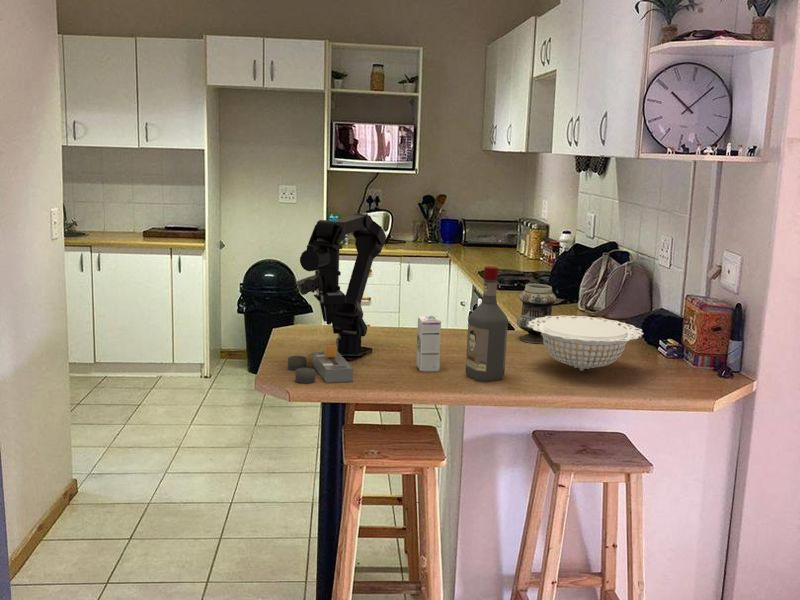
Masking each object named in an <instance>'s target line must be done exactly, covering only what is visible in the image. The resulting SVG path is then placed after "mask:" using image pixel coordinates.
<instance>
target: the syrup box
mask: <svg viewBox="0 0 800 600" xmlns="http://www.w3.org/2000/svg"><path fill="white" fill-rule="evenodd" d="M416 331H417V334H416V335H417V336H416V337H417V341H416V364H415V366H416V368H417V369H418V370H419V371H420V372H440V366H441V365H440V364H441V340H442V339H441V336H442V332H441V331H442V320H441V319H440V318H439V317H438V316H436V315H421V316H418V317H417V330H416Z"/></svg>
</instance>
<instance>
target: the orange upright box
mask: <svg viewBox="0 0 800 600" xmlns="http://www.w3.org/2000/svg"><path fill="white" fill-rule="evenodd" d="M323 350H324V351H323V352H324V356H325V357H337V346H336V343H335V344H324V349H323Z"/></svg>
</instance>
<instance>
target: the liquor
mask: <svg viewBox="0 0 800 600" xmlns="http://www.w3.org/2000/svg"><path fill="white" fill-rule="evenodd" d="M483 268H484V269H483V279H484V280H483V293H482V299H481V303H480V304H479V305H478V306H476V308H475V309H474V310H473V311H472V312H471V313H470V314H469V316H468V322H467V323H468V324H467V338H466V339H467V340H466V354H465V355H466V356H465V357H466V358H465V370H464V371H465V374H466V377H468V378H470V377H471V379H472V380H475V381H477V382H485V383H487V381H488V382H494V381H495V380H497V381H501V380H502V379H503V377H504V376H505V370H506V368H505V367H506V356H507V354H506V353H507V343H508V342H507V339H508V324H509V320H508V315H506V313H505V312H504V311H503V310H502V308H501V307H500V306H499V304H498V301H497V290H498V289H497V285H498V279H499V278H498V277H499V267H497V266H484V267H483ZM495 382H496V381H495Z"/></svg>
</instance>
